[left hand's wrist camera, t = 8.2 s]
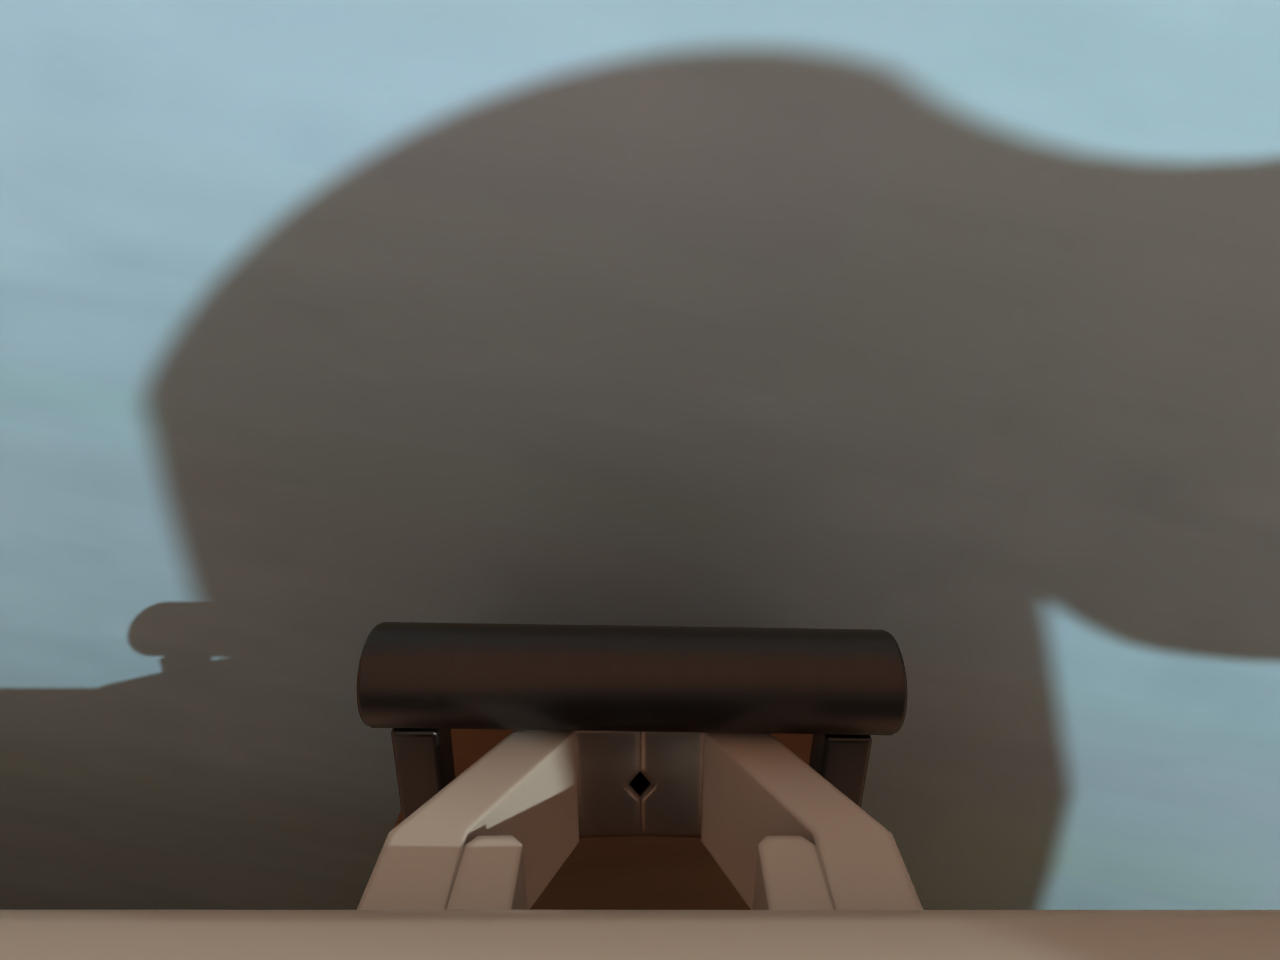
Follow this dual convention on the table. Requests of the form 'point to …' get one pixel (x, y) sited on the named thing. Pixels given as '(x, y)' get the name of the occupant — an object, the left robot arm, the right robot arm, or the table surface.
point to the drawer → (628, 719)
